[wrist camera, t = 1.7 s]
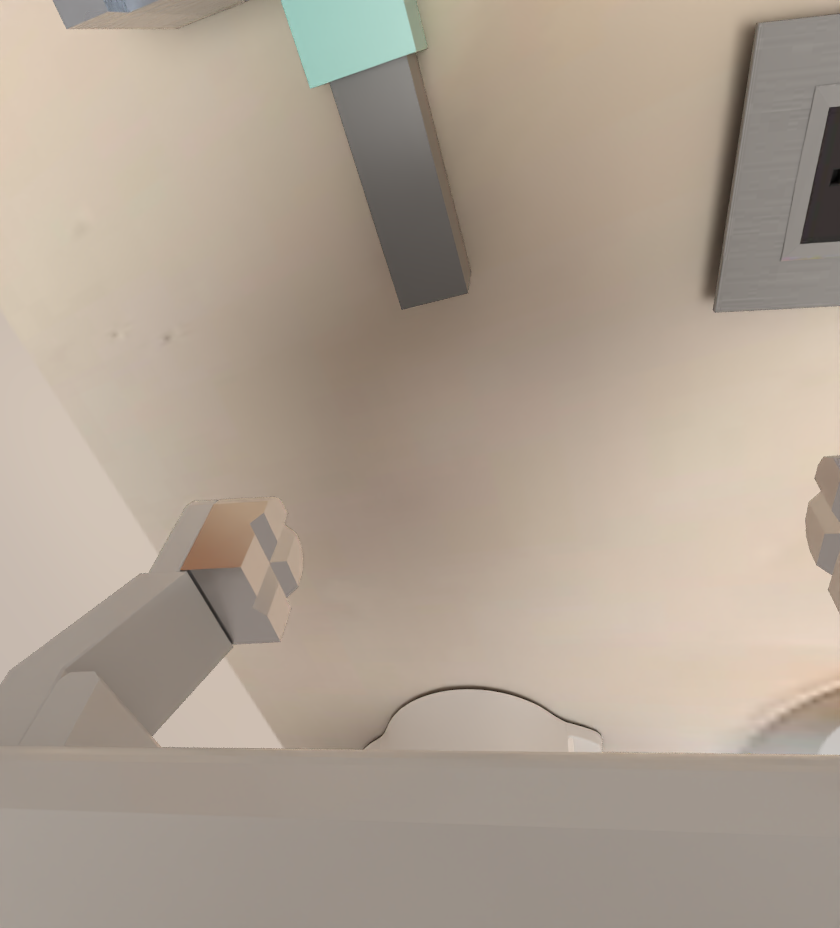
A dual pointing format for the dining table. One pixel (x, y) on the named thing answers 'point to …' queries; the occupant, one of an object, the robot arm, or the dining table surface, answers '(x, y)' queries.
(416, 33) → the plug
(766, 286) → the electrical outlet
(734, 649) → the dining table surface
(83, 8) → the grey piece
